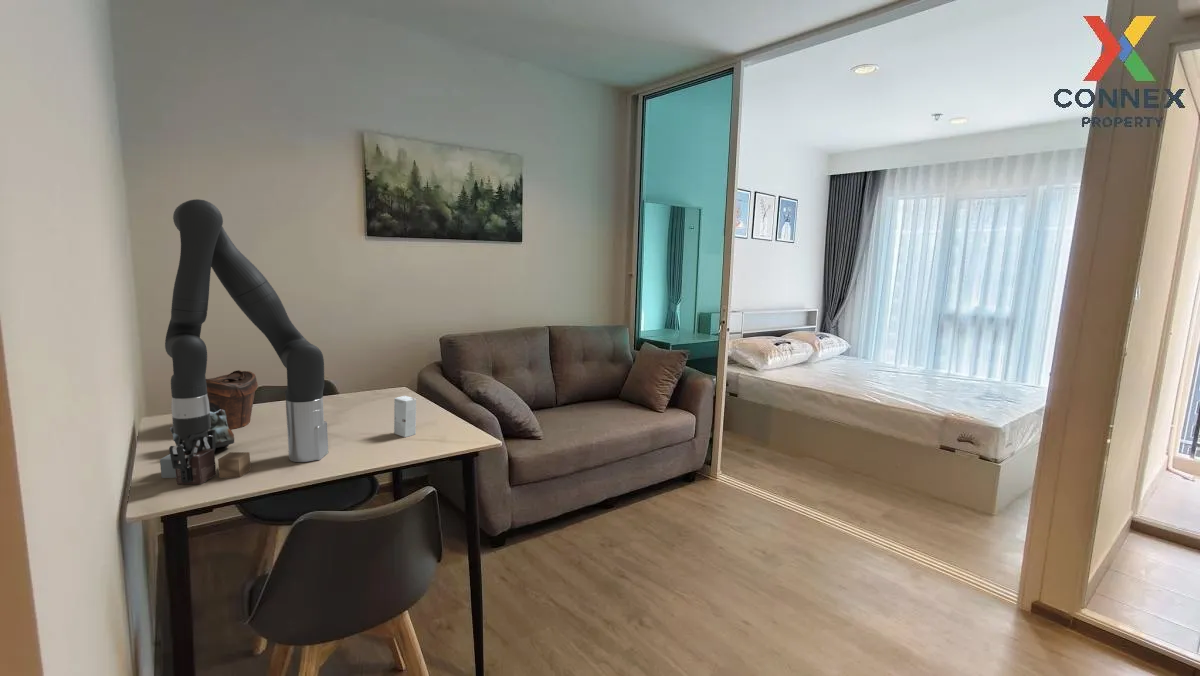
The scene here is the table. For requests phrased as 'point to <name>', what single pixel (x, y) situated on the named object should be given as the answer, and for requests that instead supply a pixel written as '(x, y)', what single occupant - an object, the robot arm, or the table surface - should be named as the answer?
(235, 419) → the brown wooden container
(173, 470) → the grey block
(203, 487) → the table surface
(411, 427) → the skincare box
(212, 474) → the box
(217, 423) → the grey-blue rounded figure
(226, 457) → the walnut block
